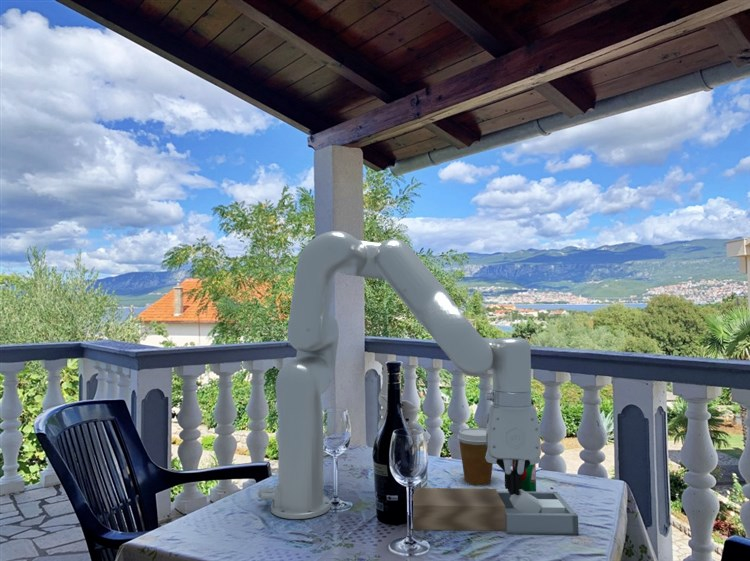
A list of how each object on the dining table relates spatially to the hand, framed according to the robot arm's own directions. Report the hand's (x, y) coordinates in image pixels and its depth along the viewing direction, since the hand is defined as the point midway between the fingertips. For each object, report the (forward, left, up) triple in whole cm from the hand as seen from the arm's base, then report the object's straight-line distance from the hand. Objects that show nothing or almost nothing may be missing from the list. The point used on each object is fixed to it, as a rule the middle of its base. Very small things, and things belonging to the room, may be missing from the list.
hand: (513, 492), depth 103 cm
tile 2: (+7, 0, -2) cm, 7 cm away
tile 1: (+2, 0, -3) cm, 4 cm away
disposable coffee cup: (-4, +24, -6) cm, 25 cm away
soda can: (+5, +14, -6) cm, 16 cm away
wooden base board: (-12, 0, -5) cm, 13 cm away
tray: (+4, 0, -5) cm, 7 cm away
